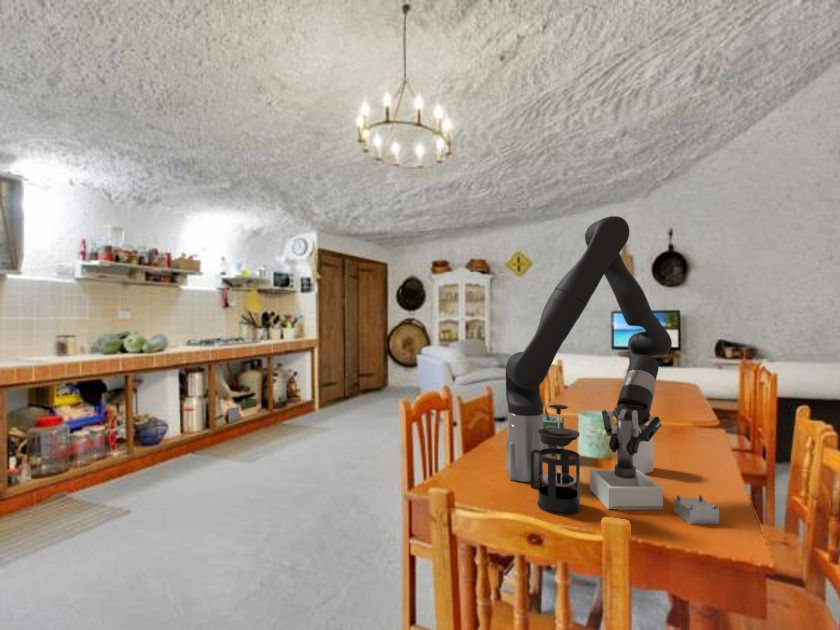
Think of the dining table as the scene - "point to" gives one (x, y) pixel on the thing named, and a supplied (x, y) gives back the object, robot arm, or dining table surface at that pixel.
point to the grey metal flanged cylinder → (624, 450)
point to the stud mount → (696, 510)
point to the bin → (626, 491)
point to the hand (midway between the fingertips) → (622, 451)
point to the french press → (558, 489)
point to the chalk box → (552, 423)
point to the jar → (644, 455)
